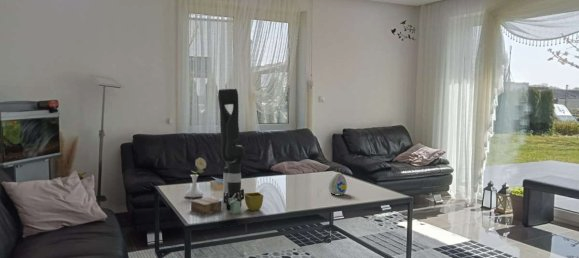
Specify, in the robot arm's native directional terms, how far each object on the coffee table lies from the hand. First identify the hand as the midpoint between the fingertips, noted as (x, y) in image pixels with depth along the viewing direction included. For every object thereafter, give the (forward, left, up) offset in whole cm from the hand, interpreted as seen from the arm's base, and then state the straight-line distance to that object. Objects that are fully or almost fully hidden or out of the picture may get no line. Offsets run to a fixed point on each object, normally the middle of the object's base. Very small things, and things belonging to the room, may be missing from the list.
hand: (233, 208), depth 246 cm
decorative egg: (-78, +22, -2) cm, 81 cm away
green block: (0, 0, -2) cm, 2 cm away
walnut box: (+9, -13, -2) cm, 16 cm away
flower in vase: (-9, -42, -2) cm, 43 cm away
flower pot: (-11, +5, -2) cm, 12 cm away
